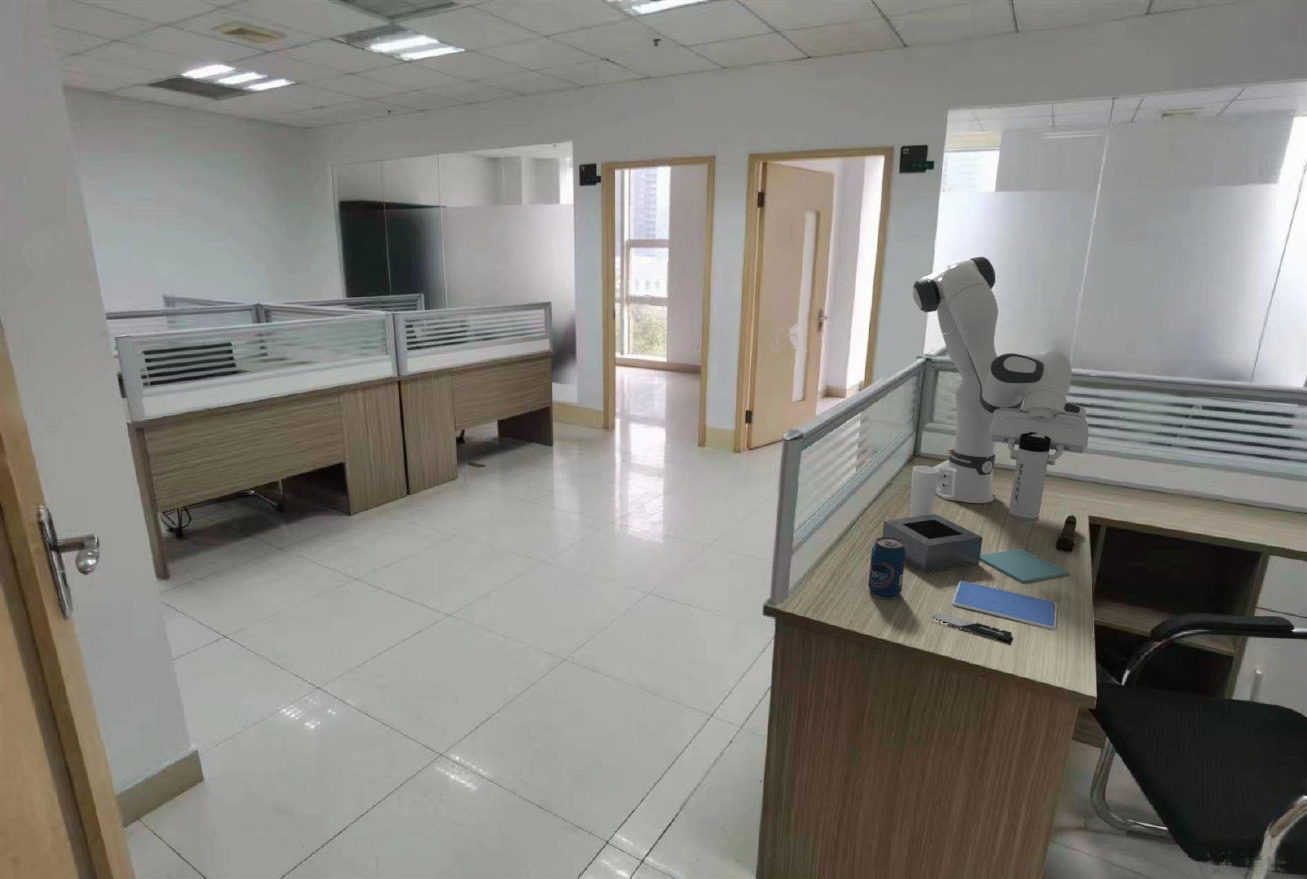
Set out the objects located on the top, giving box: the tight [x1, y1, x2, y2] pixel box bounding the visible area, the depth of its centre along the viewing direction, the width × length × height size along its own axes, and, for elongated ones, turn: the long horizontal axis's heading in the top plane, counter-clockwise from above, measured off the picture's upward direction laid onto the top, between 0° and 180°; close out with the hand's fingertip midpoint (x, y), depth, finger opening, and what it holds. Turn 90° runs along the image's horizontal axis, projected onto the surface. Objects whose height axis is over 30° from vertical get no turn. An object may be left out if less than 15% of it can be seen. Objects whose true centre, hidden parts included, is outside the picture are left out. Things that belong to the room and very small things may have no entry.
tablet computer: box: [951, 580, 1058, 631], centre depth 145 cm, size 19×13×1 cm, turn 59°
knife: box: [930, 611, 1014, 646], centre depth 136 cm, size 15×1×4 cm
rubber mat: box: [979, 548, 1070, 584], centre depth 163 cm, size 14×14×1 cm
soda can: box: [868, 537, 906, 599], centre depth 148 cm, size 7×7×12 cm
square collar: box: [881, 513, 983, 574], centre depth 168 cm, size 16×16×7 cm
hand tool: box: [1054, 515, 1077, 553], centre depth 178 cm, size 19×4×5 cm, turn 143°
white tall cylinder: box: [909, 465, 939, 518], centre depth 190 cm, size 7×7×15 cm
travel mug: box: [1008, 432, 1051, 523], centre depth 158 cm, size 6×7×20 cm
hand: (1031, 460), depth 156 cm, fingers closed on travel mug, 6 cm apart
